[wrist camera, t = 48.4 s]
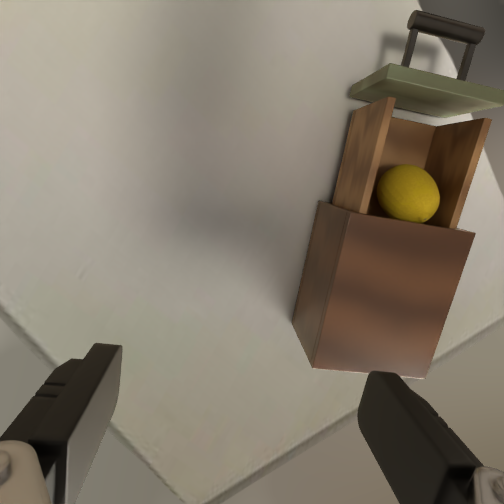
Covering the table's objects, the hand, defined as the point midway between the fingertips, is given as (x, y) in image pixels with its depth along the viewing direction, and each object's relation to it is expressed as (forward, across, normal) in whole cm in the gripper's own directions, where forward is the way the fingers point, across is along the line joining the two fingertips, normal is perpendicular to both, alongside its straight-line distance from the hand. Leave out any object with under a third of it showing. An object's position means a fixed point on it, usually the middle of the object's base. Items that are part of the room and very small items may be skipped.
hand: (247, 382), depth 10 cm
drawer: (+29, -17, -13) cm, 36 cm away
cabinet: (+30, -17, +4) cm, 35 cm away
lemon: (+28, -17, -9) cm, 34 cm away
